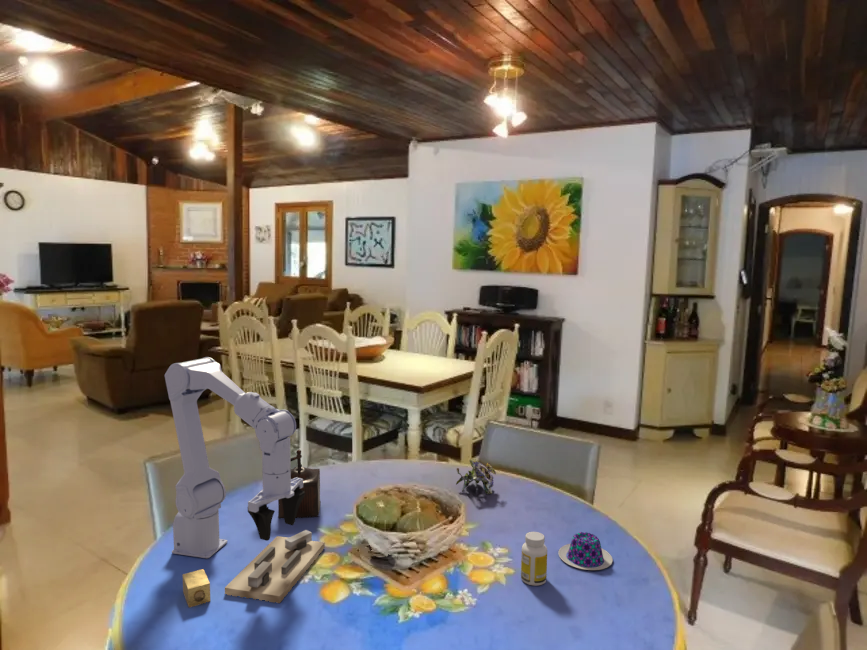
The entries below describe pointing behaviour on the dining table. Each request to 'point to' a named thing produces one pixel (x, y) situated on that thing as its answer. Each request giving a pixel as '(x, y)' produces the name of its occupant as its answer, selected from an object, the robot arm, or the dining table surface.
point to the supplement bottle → (534, 559)
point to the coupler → (196, 588)
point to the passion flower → (479, 476)
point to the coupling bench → (276, 568)
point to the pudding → (585, 552)
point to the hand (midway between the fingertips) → (277, 531)
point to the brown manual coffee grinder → (305, 490)
